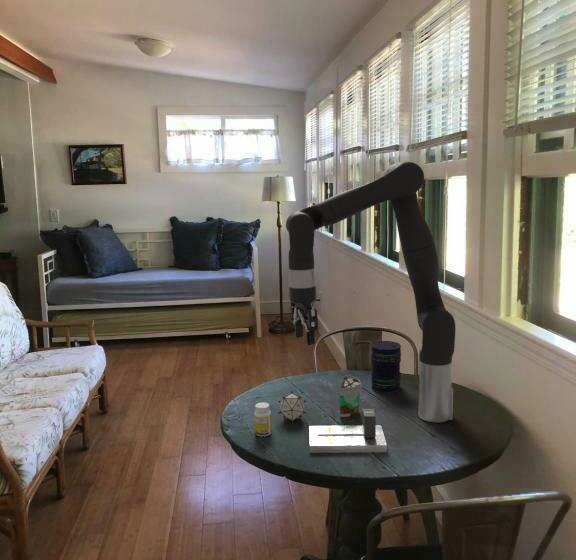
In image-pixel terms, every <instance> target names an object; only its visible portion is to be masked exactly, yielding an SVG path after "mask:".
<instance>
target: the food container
mask: <svg viewBox="0 0 576 560" xmlns="http://www.w3.org/2000/svg"><path fill="white" fill-rule="evenodd" d="M362 390H363V385H362V382H361V380H360V379H359V378H358V377H356V376H353V375H347V374H346V375H345V374H344V375H343V382H342V384H341V387H339V412H340V413H339V414H340V418H339V419H340V420H349V419H354V418H356V417H357V416H359V412H360V411H359V410H360V409H359V408H360V395H361V392H362Z"/></svg>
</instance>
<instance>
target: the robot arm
mask: <svg viewBox="0 0 576 560" xmlns="http://www.w3.org/2000/svg"><path fill="white" fill-rule="evenodd" d="M424 181H425V173H424V170H423V168H422V167H421V166H420V165H418V163H416V162H413V161H407V160H406V161H401V162H400V161H399V162H395V163H393V164H392V165H390V166H389V167H388V168H387V169H386V171H385V174H384V175H383V176H381V177H379V178H377V179H375V180H373V181H370V182H368V183H365V184H363V185H360V186H357V187H354V188H351V189H348V190H345V191H343V192H340V193H337V194H336V195H335V194H334V195H333V196H330V197H329V198H326V199H324V200H322V201H320V202H318V203H317V204H313V205H310V206H307V207H305V208H302V209H299V210H297V211H294V212H293V213H291V214H290V215H289V216H288V217H287V218H286V222H285V228H286V230H287V233H288V237H289V250H288V292H289V294H288V295H289V301H290V319H291V322H293V325H294V332H295V333H294V336H295V338H297V339H298V338H299V339H300V338H303V337H304V329H305V337H306V342H305V343H306V345H308V346H312V345H315V344H316V340H315V339H316V338H315V337H316V336H315V331H318V330H319V322H318V318H319V317H318V309H317V308H313V307H312V303H315V302H316V300H317V280H316V279H317V276H316V272H315V256H314V246H315V231H316V230H319V229H320V228H323V227H327V226H328V227H329V226H332V225H335V224H337V223H339V222H342V221H344V220H346V219H348V218H351V217H353V216H355V215H357V214H360V213H361V212H363V211H366V210H368V209H369V208H372V207H375V206H377V205H379V204H382V203H384V202H388V201H390V203H391V206H392V209H393V212H394V215H395V221H396V227H397V232H398V237H399V241H400V247H401V251H402V257H403V260H404V264H405V265H404V266H405V267H406V271H407V275H408V278H409V281H410V284H411V287H412V290H413V293H414V294H413V295H414V301H415V309H416V317H417V318H416V319H417V324H418V327H419V328H420V330H421V332H422V338H421V339H422V340H421V349H420V351H419V355H418V357H419V358H418V360H419V362H418V406H417V408H418V417H419V419H421V420H422V421H426V422H430V423H445V422H447V421H452V420H453V406H454V405H453V402H454V401H453V400H454V388H453V387H452V369H453V366H452V365H453V357H454V356H453V355H454V352H455V347H456V346H455V345H456V320H455V318H454V316H453V314H452V313H451V312H449V311H448V310H447V309H446V307H445V304H444V302H443V298H442V295H441V292H440V291H441V290H440V288H439V259H438V252H437V248H436V243H435V240H434V237H433V233H432V232H431V229H430V226H429V225H428V223H427V221H426V219H425V217H424V215H423V213H422V211H421V208H420V205H419V204H420V203H419V198H418V191H419V190H420V189H421V188H422V186H423V184H424ZM303 326H304V327H303Z"/></svg>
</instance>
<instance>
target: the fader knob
mask: <svg viewBox="0 0 576 560" xmlns="http://www.w3.org/2000/svg"><path fill="white" fill-rule="evenodd" d="M361 409H362V413H361V414H362V418H361V419H362V421H361V422H362V424H361V425H362V430H363V434H364V438H376V424H377V421H376V419H377V417H376V413H375V410H374V408H361Z"/></svg>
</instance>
